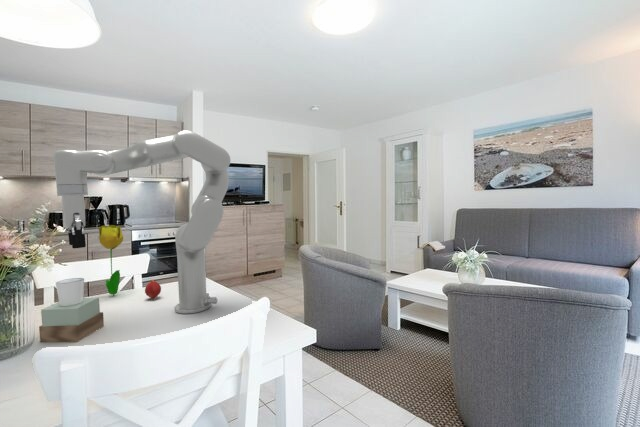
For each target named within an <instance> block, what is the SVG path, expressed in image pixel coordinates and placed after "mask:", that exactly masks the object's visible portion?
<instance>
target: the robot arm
mask: <svg viewBox="0 0 640 427" xmlns="http://www.w3.org/2000/svg"><path fill="white" fill-rule="evenodd" d="M186 158H190V159H192V160H194V161H196V162H198V163H199V164H200V165H201V167H202V169H203V171H204V173H205V181H204V183H203V185H202V188H201V190H200V191H199V193H198V195H197V196H196V199H195V200H194V202H193V204H192V205H191V209H190V212H191V217H190V219H189V221H188V222H187V223H183V224H182V225H180V226H179V227H178V228H177V230H176V233H175V238H174V239H175V249H176V259H177V261H176V262H177V279H178V280H177V284H178V285H177V286H178V302H179V303H177V304H176V305H175V306H174V311H175V312H176V313H178V314H185V315H186V314H188V315H189V314H195V313H196V314H197V313H199V312H201V313H202V312H205V311H206V310H208V309H209V308H211V307H212V305H217V304H218V298H217V297H216V296H210V293H209V292H208V293H207V276H206V274H207V273H206V254H205V253H206V252H205V249H206V248H207V247H208V246H209V244H210V243H211V242H212V238H213V237H214V236H215V234H216V233H215V232H217V229H218V227H219V226H220V223H221V221H222V219H223V216H224V206H223V204H222V203H223V201H224V198H225V196H226V194H227V191H228V189H229V184H230V178H229V173H228V168H229V166H230V165H231V155H230V154H229V152H228V151H227V150H226V149H224V148H223V147H222V146H220V145H218V144H216V143H214V142H213V141H210V140H209V139H207V138H205V136H204V137H203V136H201V135H199V134H198V133H196V132H194V131H191V130H187V129H184V130H180V131H178V132H177V133H176V134H173V135H172V134H171V135H167V136H162V137H156V138H150V139H145V140H144V139H143V140H140V141H139V142H137V143H134V144H133V145H131V146H128V147H124V148H121V149H116V150H110V151H105V150H103V149H93V150H91V149H90V150H89V149H88V150H77V149H76V150H75V149H59V150H56V151H54V154H53V162H54V164H53V165H54V173H55V185H56V187H55V188H56V195H57V197H61V212H62V225H63V226H62V227H63V228H65V229H67V230H68V245H69V246H72V249H81V248H86V246H87V244H86V234H85V231H84V228H85V227H86V209H85V198H84V196H88V195H89V190H88V179H87V178H88V177H87V176H88V175H87V174H94V175H98V176H109V175H113V174H118V173H122V172H126V171H132V170H135V169H136V170H137V169H139V168H148V167H150V166H155V165H160V164H163V163H167V162H168V163H169V162H173V161H178V160H183V159H186Z"/></svg>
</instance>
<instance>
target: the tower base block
mask: <svg viewBox="0 0 640 427" xmlns="http://www.w3.org/2000/svg"><path fill="white" fill-rule="evenodd" d="M104 323H105V322H104V312H103V311H102V312H101V311H100V313H98V314H97V315H95V316H93V317H91V318H90V319H88V320H86V321H85V322H83V323H81V324H79V325H73V326H45V327H42V325H39V326H38V330H39V331H38V332H39V342H40V343H78V342H80V341H82V340H83V339H85V338H86V337H88V336H90V335H91V334H93V333H94V332H96V330H97V331H99V330H100V329H102V328H103V327H104V326H105V324H104ZM101 327H102V328H101ZM99 328H100V329H99Z"/></svg>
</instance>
